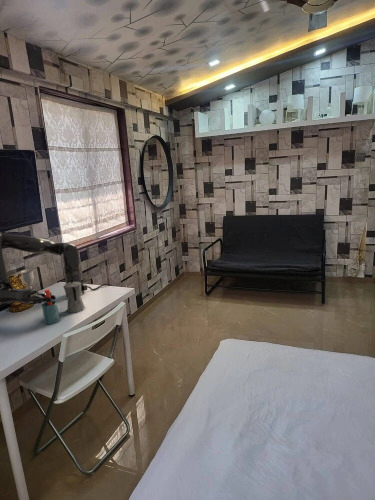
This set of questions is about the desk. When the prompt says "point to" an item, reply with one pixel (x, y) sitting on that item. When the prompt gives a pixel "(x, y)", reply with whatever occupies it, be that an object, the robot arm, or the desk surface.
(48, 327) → the desk surface
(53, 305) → the cup
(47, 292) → the red cylindrical rod
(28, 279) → the chalice
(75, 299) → the coffeepot
